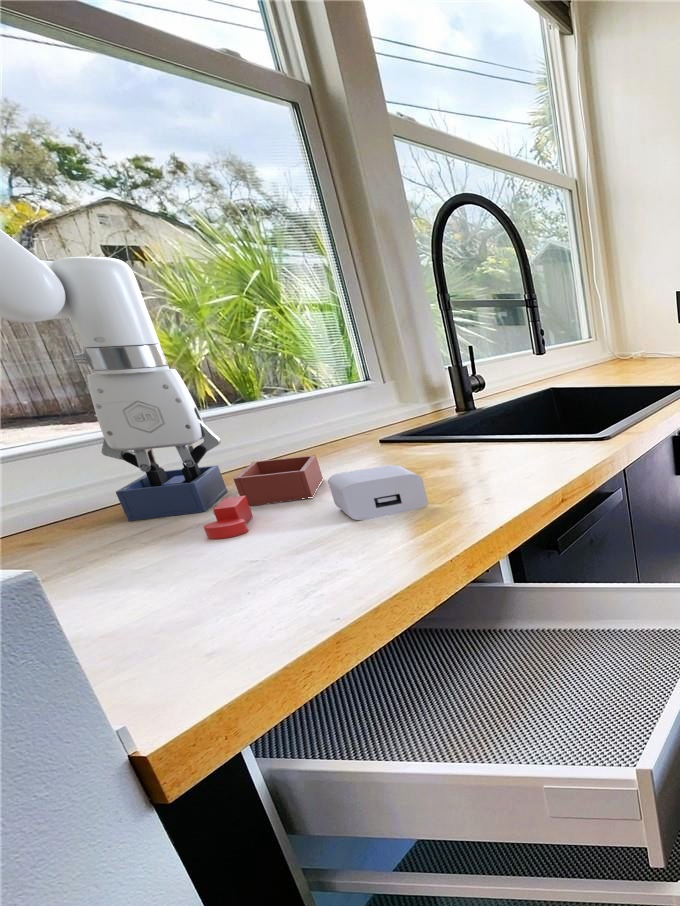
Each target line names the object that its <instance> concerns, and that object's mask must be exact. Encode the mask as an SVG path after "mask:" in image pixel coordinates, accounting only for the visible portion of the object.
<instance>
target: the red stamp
mask: <svg viewBox="0 0 680 906" xmlns="http://www.w3.org/2000/svg"><path fill="white" fill-rule="evenodd" d="M212 511H213V514H214V516H215V519H216V521H211V522H208V523H207V524H204V525H203V530H204V533H205V535H206V537H207V538H208V539H211V540H220V539H228V538H234V537H238V536H241V535H243V534H246V533H247V532H248V531H249V528H248V525H247V524H248V523H249V521H250V520H252V518H253V516H254V515H253V512H252V510H251V506H249V504H248V501H247V499H246V496H230V497H224V498H223V499H222V501H220V502H219V503H218V504H217V505H216V506H215V507H214V508H213V509H212ZM251 517H252V518H251Z"/></svg>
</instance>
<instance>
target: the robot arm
mask: <svg viewBox="0 0 680 906" xmlns="http://www.w3.org/2000/svg"><path fill="white" fill-rule="evenodd" d="M0 318H1V319H4V320H6V321H11V322H15V323H16V322H17V323H23V324H25V323H38V322H44V321H50V320H57V319H66V318H71V319H72V321H73V324H74V326H75V328H76V331H77V333H78V336H79V338H80V342H81V343H82V345H83V348H82V351H81V352H80V353H74V354H73V360H74V362H75V363H76V364H77V365H78V366H79V365H80V366H81V365H85V366H88V367H90V370H93V372H94V373H89V374H87V375H86V378H87V386H88V390H89V394H90V398H91V402H92V405H93V408H94V412H95V415H96V419H97V422H98V424H99V428H100V430H101V434H102V436H103V442H102V447H101V454H102V455H103V456H105V457H109V458H112V459H117V460H122V461H124V462H126V463H128V464H130V465H132V466H134V467H136V468H137V469H139V470H140V471H141V472H142V473H143V472H144V473H145V474H147V477H148V479H149V482H150V484H151V487H156V486H161V485H162V484H164V483H165V482H167V481H168V478H167V476H166V473H165V471H166V470H165V469H164V468H163V467H162V466H161V467H160V466H159V464H158V463H157V461H156V457H155V454H154V451H153V450H154V449H162V448H173V447H175V449H176V451H177V453H178V455H179V457H180V459H181V461H182V466H183V467H182V468H181V469H182V473H183V475H184V478H185V480H186V483H190V482H192V481H193V480H195V479H196V478H197V477H199V476H200V475H201V472H200V470H199V467H200V466H199V465H198V464H199V463H200V462H201V460H202V459H203V457H204V456H205V455H206V454H207V453H208V452H209V451H211V450H213V449H214V448H216V447H218V446H219V445H221V443H222V439H221V438H220V437H219V436H218V435H216V433H214V431H213V430H211V429H210V428H209V426H207V425H206V423H204V420H203V418H202V416H201V413H200V412H199V411H200V410H199V409H198V407H197V404H196V402H195V400H194V399H193V397H192V395H191V393H190V391H189V389H188V387H187V385H186V383H185V382H184V380H183V379H182V377H181V375H180V374H179V372H178V371H177V369H176V368H170V366H169V364H168V361H167V359H166V355H165V353H164V349H163V348H162V345H161V342H160V339H159V337H158V335H157V332H156V330H155V326H154V325H153V320H152V319H151V316H150V313H149V310H148V307H147V306H146V303H145V300H144V297H143V295H142V293H141V289H140V287H139V284H138V281H137V279H136V276H135V274H134V272H133V270H132V268H131V267H130V266H129V265H128V264H127V263H126V262H125V261H123V260H121V259H118V258H113V257H106V256H105V257H103V256H68V257H60V258H57V259H55V260H41V259H39V258H38V257H37V256H35V255H34V253H32V252H30V250H28V249H27V248H26V247H24V246H23V245H21V244H20V243H19V242H17V241H16V240H15V239H14V238H12V237H11V236H10V235H8V234H7V233H6V232H5V231H3V230H2V229H0ZM202 439H203V442H201V443H199V444H198V445H196V446H194V445H193V444H195V443H197V442H199V441H200V440H202Z"/></svg>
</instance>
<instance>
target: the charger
mask: <svg viewBox="0 0 680 906" xmlns="http://www.w3.org/2000/svg"><path fill="white" fill-rule="evenodd" d="M327 483H328V486H329V490H330V493H331V496H332V498H333V502H334V505H335V506H336V507H337V508H338V509H339V510H341V511H342V512H343V513H345V514H346V515H347V516H348V517H350V519H353V520H354V521H355V520H356V521H365V519H367V520H371V519H370V518H372V519H375V518H374V517H377V518H381V517H380V516H382V517H387V516H392V515H397V514H402V513H407V512H411V511H417V510H421V509H423V508H424V507H427V505H428V504H429V501H428V495H427V491H426V488H425V485H424V479H423V477H422V476H420V475H419V474H417V473H415V472H413V471H410V470H409V469H407V468H405V467H403V466H400V465H397V464H396V465H395V464H394V465H393V464H389V465H382V466H376V467H369V468H362V469H356V470H351V471H345V472H339V473H338V472H337V473H335V474H333V475H331V476H330V477H329V478H328V479H327ZM386 515H387V516H386Z"/></svg>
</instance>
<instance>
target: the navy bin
mask: <svg viewBox="0 0 680 906" xmlns="http://www.w3.org/2000/svg"><path fill="white" fill-rule="evenodd" d="M198 467H199V470H200V472H201V475H200V476H199V477H197V478H196V479H195V480H193V481H192V482H190V483H183V484H174V485H165V486H156V487H151V484H150V482H149V479H148V477H147V474H146V473H145V474H143V475H142V476H140V477H139V478H137V479H135V480H134V481H132V482H130V483H128V484H127V485H125V486H123V487H121V488H119V489H118V490H116V491H115V494H116V497H117V499H118V501H119V504H120V506H121V508H122V510H123V512H124V515H125V517H126V519H127V522H134V521H143V520H151V519H157V518H158V519H159V518H165V517H175V516H181V515H190V514H191V515H192V514H198V513H205V512H207V511H208V510H210V508H211V507H212V506H213V505H214V504H215V503H216V502H217V501H218V500H220V499H221V498H222V497H223V496H224V495H225V494H226V493H227V492H228V489H227V486H226V483H225V480H224V478H223V475H222V473H221V470H220V467H219V465H218V464H217V465H208V466H198ZM164 471H165V473H166V476H167V478H168V480H170V479H171V478H173V477H174V476H182V475H183V473H182V468H179V469H169V470H164ZM221 496H222V497H221ZM220 497H221V498H220ZM219 498H220V499H219Z"/></svg>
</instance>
